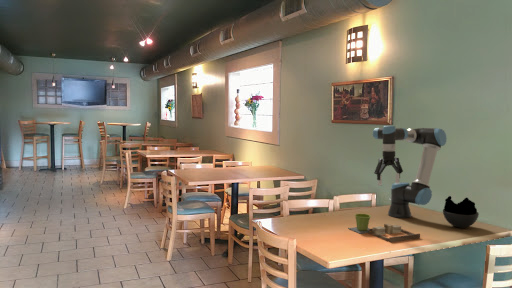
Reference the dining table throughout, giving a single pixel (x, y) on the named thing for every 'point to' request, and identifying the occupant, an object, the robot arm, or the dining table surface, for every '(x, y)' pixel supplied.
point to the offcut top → (388, 228)
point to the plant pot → (362, 221)
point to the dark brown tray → (397, 238)
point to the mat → (358, 230)
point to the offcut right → (396, 229)
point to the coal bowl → (460, 213)
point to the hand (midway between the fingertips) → (388, 184)
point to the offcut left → (379, 230)
